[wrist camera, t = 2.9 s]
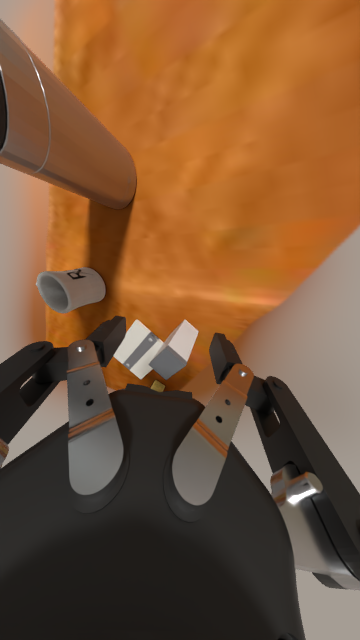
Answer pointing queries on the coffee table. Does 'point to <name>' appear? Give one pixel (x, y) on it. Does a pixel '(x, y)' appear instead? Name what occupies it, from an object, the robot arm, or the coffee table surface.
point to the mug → (70, 288)
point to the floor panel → (138, 349)
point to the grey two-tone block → (175, 351)
